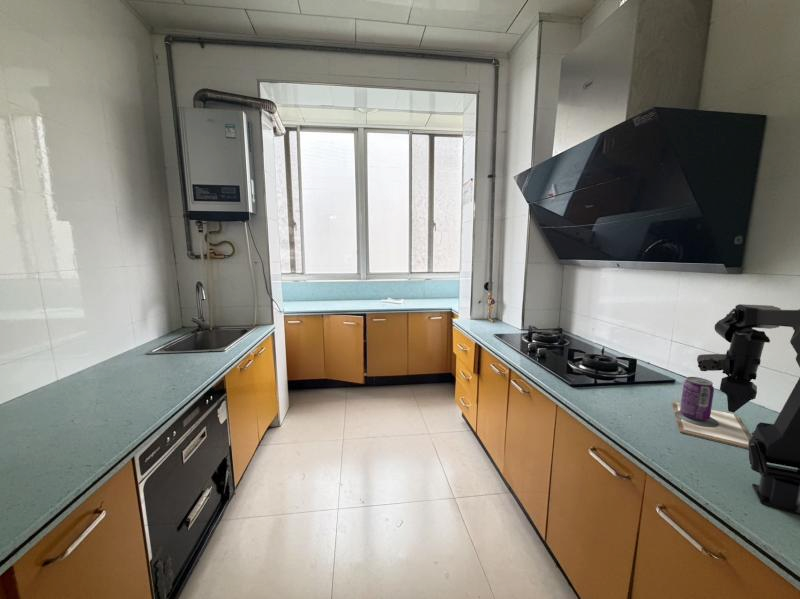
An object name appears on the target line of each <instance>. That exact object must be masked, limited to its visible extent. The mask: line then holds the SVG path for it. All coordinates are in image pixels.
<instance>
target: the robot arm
mask: <svg viewBox="0 0 800 599" xmlns="http://www.w3.org/2000/svg"><path fill="white" fill-rule="evenodd" d="M780 327H789V328H792V329H793V331H794V332H793V333H792V335H791V339H790V341H789V342H790V344H791V346H792V348H793V349H794V351H795V353H796V356H795V362H796V364H797V365H798V367H799V368H800V308H799V309H781V308H780V307H777V306H774V305H768V304H767V305H765V304H764V305H763V304H759V305H758V304H740V303H739V304H736V305H735V307H734V308H732V309H731V310H730V311H729V313H726V316H725V317H724V318H722V319H719V320H718V321H717V322H716V323H715V324H714V331H715V333H717V334H718V335H719V336H720V337H722V338H723V339H724V340H725V341H727V342H728V343H730V346H729V348H728V349H726V353H722V354H720V353H711V354H710V353H708V354H699V355H697V358H696V361H697V368H699V371H701V372H709V371H710V372H711V371H715V372H716V371H722V374H724V375H726V376H724V377H722V378H721V380H720V381H721V382H720V385H719V391H720V392H722V393H723V394H725V395H726V399H727V400H726V401H727V411H728V413H732V414H735V413H736V412H737V411H738V410H739V409H741V408H742V407H744V405H746V404H747V403H749V402H750V401H751V400H752V401H753V400H754V399H756V397H757V394H758V387H757V385H756V384H755V383H754V381H755V380H757V375H758V374H757V372H758V369H759V366H760V365H761V357H762V353H763V350H764V347H765V343H769V344H770V342H771V340H770V337H769V336H768V335H767V334H766V332H765V331H763V330H762V331H761V330H758V329H766V330H767V329H776V328H777V329H778V328H780ZM752 380H754V381H752ZM781 408H782V409H781V411H780V412H779V414H778V416H777V417H776V420H775V421H774V423H768V422H758V424H756V427H755V430H754V431H753V432H752V433H751V435H752V437H751V439H750V441H749V443H748V444H749V449H748V460H749V464H750V465H751V467H750V469H751V470H752V471H754V472H756V473H758V474H760V477H759V483H758V484H755V483H752V484H751V488H752V490H753V491H754V493H755V495H756V498H757V499H758V501H759V503H761V504H763V505H767V506H770V507H773V508H776V509H779V510H783V511H786V512H789V513H793V514H795V515H799V516H800V377H799V378H798V380H797V382H796V384H795V385H794V386H793V389H792V391H791V392H790V393H789V396H788V397H787V400H786V401H785V403H784V405H783V407H781ZM795 468H796V469H795Z"/></svg>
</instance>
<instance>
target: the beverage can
mask: <svg viewBox="0 0 800 599" xmlns="http://www.w3.org/2000/svg"><path fill="white" fill-rule="evenodd" d="M682 384H683V385H682V393H681V400H680V403H681V406H680V412H681V413H683V414H684V415H686V416H687V417H690V418H692V419H696V420H707V419H710V414H711V410H712V406H713V399H714V393H715V388H714V386H713V385H714V383H713V381H712V380H709V379H706V378H702V377H698V376H687V377H686V378H685V381H684V382H683V383H682Z"/></svg>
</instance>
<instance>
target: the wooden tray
mask: <svg viewBox="0 0 800 599" xmlns="http://www.w3.org/2000/svg"><path fill="white" fill-rule="evenodd" d="M671 404H672V407H673V411H674V416H675V419H676V423H677V426H678V431H679V434H680V433H681V434H683V435H687V436H688V435H689V436H693V437H697V438H699V439H704V440H705V439H706V440H710V441H714V442H718V443H721V444H726V445H730V446H733V447H737V448H741V449H747V450H749V444H748V443H749V441H750V439H751V438H752V437H751V435H750V434H749V431H748V430H747V428H746V427H745V425H744V424H743V422H742V421H741V419H740V418H739V416H738V414H735V413H732V412H726V411H720V410H715V409H711V414H710V419H707V420H696V419H692V418H690V417H687V416H686V415H684V414H683V413H681V412H680V406H681V402H677V401H672V402H671Z"/></svg>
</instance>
